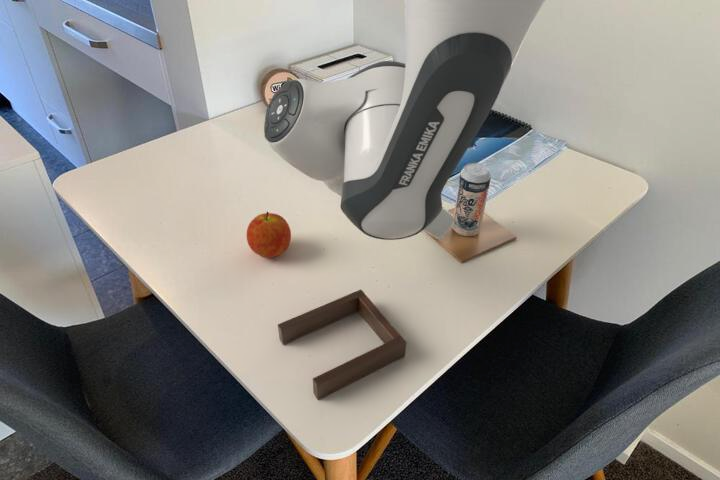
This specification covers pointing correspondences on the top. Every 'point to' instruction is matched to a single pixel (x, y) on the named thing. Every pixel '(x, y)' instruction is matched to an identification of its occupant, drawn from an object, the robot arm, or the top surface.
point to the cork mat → (474, 239)
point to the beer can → (471, 199)
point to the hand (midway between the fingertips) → (416, 207)
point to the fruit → (268, 235)
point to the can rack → (359, 365)
